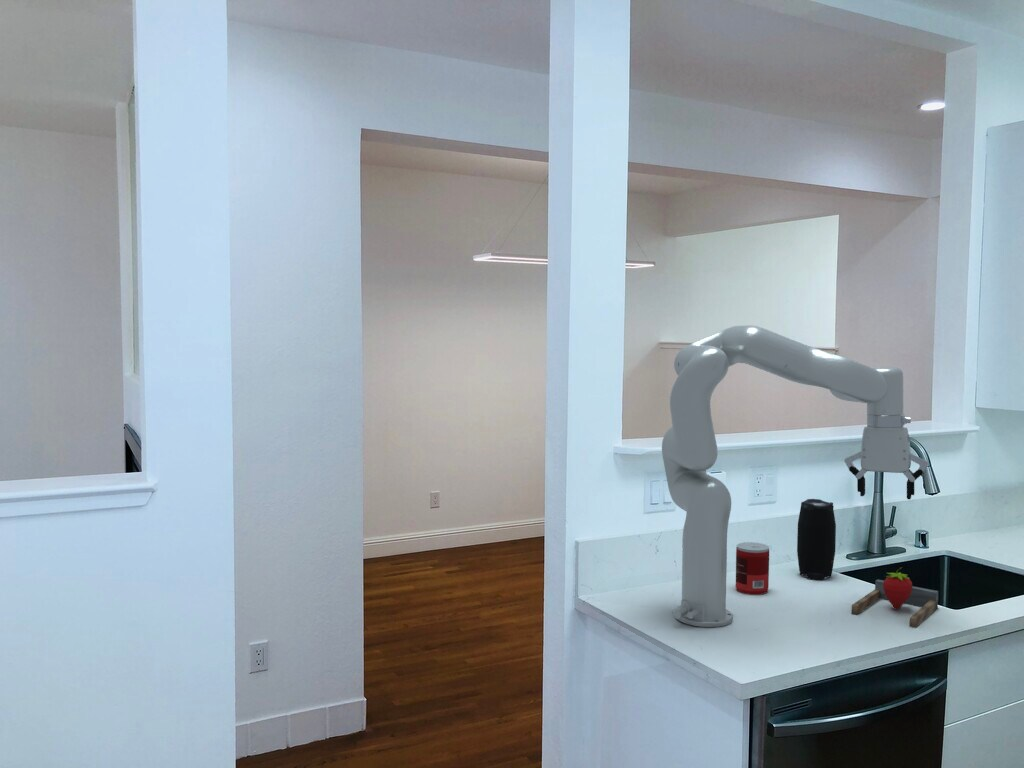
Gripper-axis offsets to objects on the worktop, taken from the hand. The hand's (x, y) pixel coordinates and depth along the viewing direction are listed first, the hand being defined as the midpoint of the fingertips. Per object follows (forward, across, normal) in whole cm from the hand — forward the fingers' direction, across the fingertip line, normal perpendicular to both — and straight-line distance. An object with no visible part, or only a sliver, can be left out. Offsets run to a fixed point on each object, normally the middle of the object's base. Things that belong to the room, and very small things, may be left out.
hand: (885, 496), depth 188 cm
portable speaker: (+26, +19, -18) cm, 37 cm away
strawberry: (+26, -2, 0) cm, 26 cm away
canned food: (+25, +30, +2) cm, 39 cm away
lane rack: (+26, -2, +2) cm, 26 cm away
